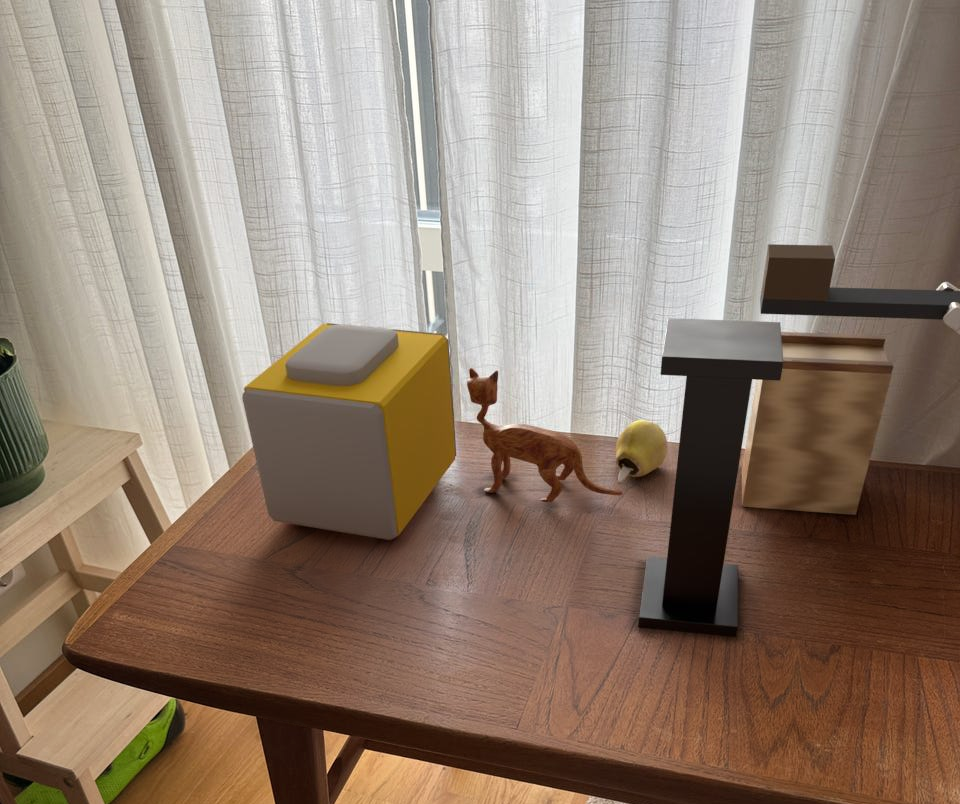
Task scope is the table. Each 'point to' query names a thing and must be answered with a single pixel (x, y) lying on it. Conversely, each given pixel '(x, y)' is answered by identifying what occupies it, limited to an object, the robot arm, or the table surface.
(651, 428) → the fruit
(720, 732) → the table surface
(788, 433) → the wavy wood-grain slab
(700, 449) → the shelf stand
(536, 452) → the cat figurine
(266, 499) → the alarm clock
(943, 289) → the robot arm
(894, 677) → the table surface
